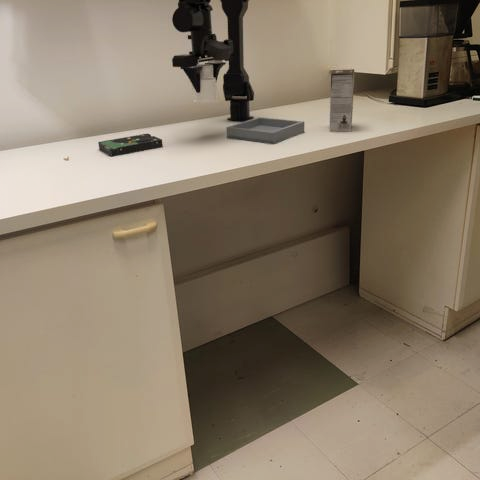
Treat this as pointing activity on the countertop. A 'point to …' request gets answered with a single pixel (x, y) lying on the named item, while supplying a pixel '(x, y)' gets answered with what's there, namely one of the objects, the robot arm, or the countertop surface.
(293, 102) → the countertop surface
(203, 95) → the downlight
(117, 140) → the disk drive
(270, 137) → the tray
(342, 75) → the coffee box
